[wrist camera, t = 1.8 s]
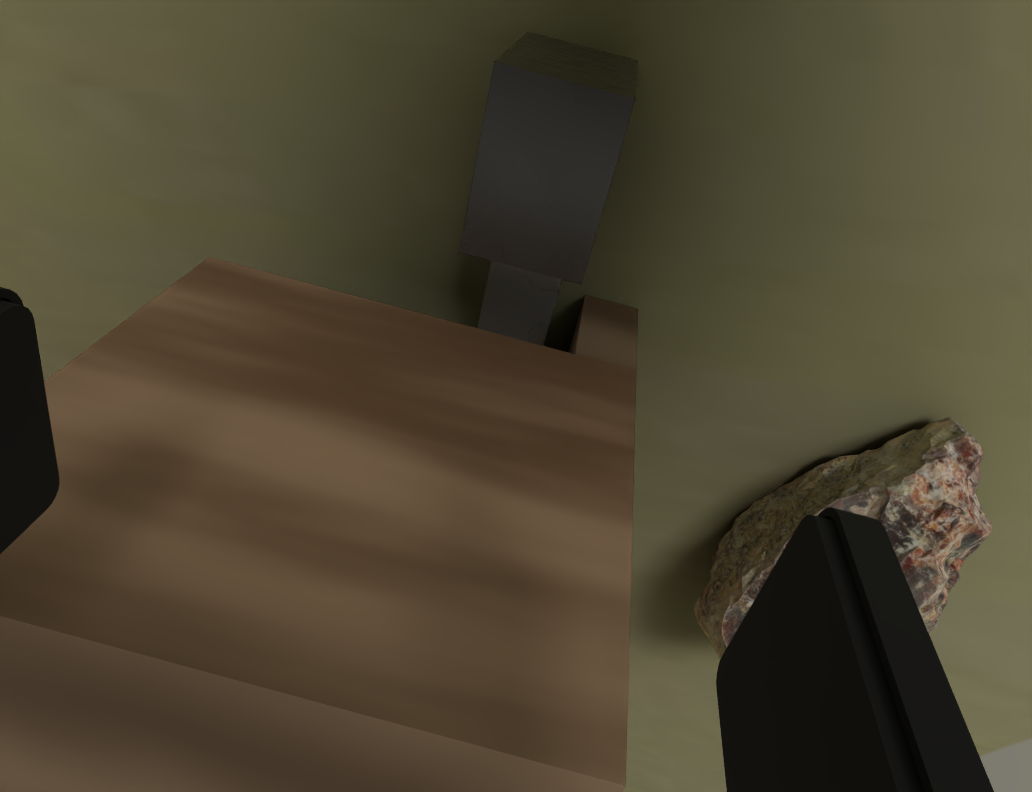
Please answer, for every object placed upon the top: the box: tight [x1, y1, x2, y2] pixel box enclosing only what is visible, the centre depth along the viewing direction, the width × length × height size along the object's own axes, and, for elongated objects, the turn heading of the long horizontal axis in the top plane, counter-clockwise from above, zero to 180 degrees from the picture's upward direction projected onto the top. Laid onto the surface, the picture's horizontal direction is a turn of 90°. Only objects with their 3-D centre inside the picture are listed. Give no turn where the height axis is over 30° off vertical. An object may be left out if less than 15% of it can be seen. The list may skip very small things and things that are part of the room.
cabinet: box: [0, 257, 638, 792], centre depth 25 cm, size 18×14×18 cm
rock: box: [694, 417, 993, 660], centre depth 28 cm, size 7×11×10 cm
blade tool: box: [459, 32, 638, 346], centre depth 26 cm, size 20×4×6 cm, turn 168°
